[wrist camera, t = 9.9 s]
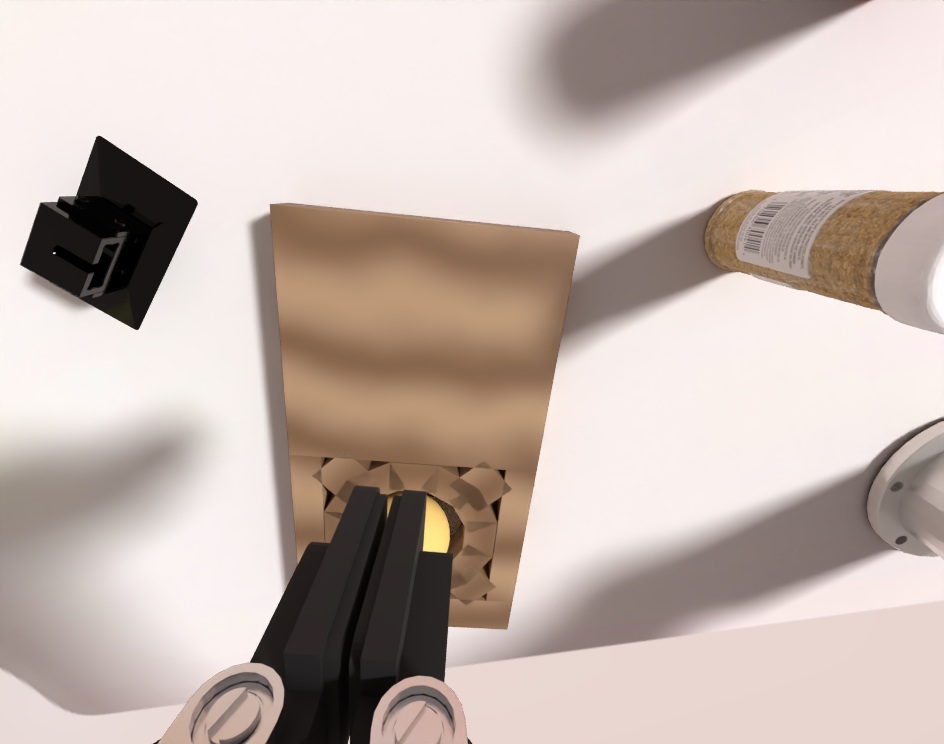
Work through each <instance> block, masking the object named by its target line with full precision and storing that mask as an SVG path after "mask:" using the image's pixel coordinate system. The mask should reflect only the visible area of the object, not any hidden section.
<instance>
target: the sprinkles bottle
mask: <svg viewBox="0 0 944 744" xmlns="http://www.w3.org/2000/svg"><path fill="white" fill-rule="evenodd" d="M705 248H706V251H707V254H708V256H709V258H710V260H711V261H712V262H713V263H714V264H715V265H717V266H718V267H720V268H721V269H725V270H728V271H731V272H741V273H745V274H749V275H752V276H753V277H755V278H758V279H761V280H764V281H768V282H771V283H775V284H778V285H782V286H786V287H789V288H793V289H797V290H805V291H809V292H813V293H816V294H819V295H823V296H826V297H830V298H834V299H838V300H841V301H844V302H849V303H853V304H856V305H860V306H863V307H867V308H871V309H876V310H880V311H882V312H883V313H884V314H887V315H889V316H890V317H891V318H893V319H894V320H896V321H898V322H900V323H903V324H906V325H910V326H913V327H917V328H920V329H924V330H928V331H932V332H936V333H940V334H944V192H892V191H884V190H835V191H785V192H777V193H775V192H765V191H761V190H749V191H744V192H740V193H738V194H735V195H733V196H732V197H730V198H729V199H727V200H726V201H724V202H723V203H722V204H721V205H720V206H719V207H718V208H717V209H716V210H715V212H714V213H713V215H712V217H711V219H710V220H709V222H708V225H707V228H706V232H705Z"/></svg>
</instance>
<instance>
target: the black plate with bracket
mask: <svg viewBox="0 0 944 744" xmlns="http://www.w3.org/2000/svg"><path fill="white" fill-rule="evenodd" d="M197 205H198V202H197V200H196V199H194V198H193V197H191V196H190V195H188V194H187V193H185V192H184V191H182V190H181V189H179V188H178V187H176V186H175V185H173V184H172V183H170V182H169V181H167V180H166V179H164V178H163V177H161V176H160V175H158V174H157V173H155V172H154V171H152V170H151V169H149V168H148V167H146V166H145V165H143V164H142V163H140V162H139V161H137V160H136V159H134V158H133V157H131V156H130V155H128V154H127V153H125V152H124V151H122V150H121V149H119V148H118V147H116V146H115V145H113V144H112V143H110V142H109V141H107V140H106V139H104V138H103V137H101V136H97V137H96V140H95V143H94V146H93V148H92V151H91V154H90V157H89V160H88V163H87V166H86V169H85V172H84V175H83V177H82V180H81V183H80V186H79V189H78V192H77V195H76V196H66V197H59V199H58V202H42V203H40V205H39V208H38V211H37V214H36V217H35V220H34V223H33V226H32V229H31V232H30V235H29V238H28V241H27V244H26V247H25V250H24V253H23V257H22V260H21V263H20V265H21V266H23V267H25V268H26V269H28V270H30V271H32V272H33V273H35V274H37V275H39V276H41V277H42V278H44V279H46V280H48V281H49V282H51V283H52V284H54V285H56V286H58V287H59V288H61V289H63V290H65V291H67V292H68V293H70V294H72V295H74V296H76V297H77V298H79V299H81V300H83V301H85V302H86V303H88V304H90V305H92V306H94V307H95V308H97V309H99V310H101V311H103V312H104V313H106V314H108V315H110V316H112V317H113V318H115V319H117V320H119V321H121V322H122V323H124V324H126V325H128V326H130V327H131V328H133V329H135V330H138V329H139V328H140V326H141V324H142V321H143V319H144V317H145V315H146V313H147V311H148V309H149V307H150V304H151V302H152V300H153V298H154V296H155V294H156V292H157V290H158V288H159V285H160V283H161V281H162V279H163V277H164V275H165V273H166V271H167V268H168V266H169V264H170V262H171V260H172V258H173V256H174V254H175V251H176V249H177V247H178V245H179V243H180V241H181V239H182V237H183V235H184V232H185V230H186V228H187V226H188V224H189V222H190V220H191V218H192V215H193V213H194V211H195V209H196V207H197Z"/></svg>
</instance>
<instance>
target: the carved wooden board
mask: <svg viewBox="0 0 944 744" xmlns="http://www.w3.org/2000/svg"><path fill="white" fill-rule="evenodd" d="M270 212H271V225H272V238H273V251H274V264H275V277H276V290H277V303H278V316H279V329H280V342H281V355H282V368H283V381H284V394H285V407H286V420H287V433H288V446H289V459H290V472H291V485H292V498H293V511H294V524H295V537H296V550H297V563H299V561H300V559H301V557H302V555H303V553H304V551H305V549H306V547H307V546H308V544H309V543H310V542H323V543H330V542H331V540H332V537H333V535H334V533H335V530H336V528H337V526H338V523H339V521H340V519H341V516H342V514H343V512H344V509H345V507H346V505H347V502H348V500H349V498H350V495H351V493H352V490H353V488H354V486H356V485H359V486H371V487H379V488H380V494H387V495H388V494H391V493H393V492H396V491H403V490H404V489H405V490H416V491H427V493H429V494H431V495H433V496H435V497H437V498H438V499H440V500H442V501H444V502H446V503H448V504H449V505H451V506H453V508H454V509H455V511H456V513H457V514H458V516H459V518H460V519H461V521H462V523H463V525H462V526H461V527H460V528H459V529H458V530H457V531H456V533H455V534H454V535H453V536H452V537H451V538H450V541H449V546H448V550H447V553H453V563H452V578H451V592H450V606H449V621H448V627H468V628H488V629H507V628H508V623H509V617H510V612H511V606H512V601H513V595H514V590H515V585H516V579H517V574H518V568H519V563H520V557H521V552H522V547H523V541H524V536H525V530H526V525H527V520H528V514H529V509H530V503H531V498H532V492H533V487H534V482H535V476H536V471H537V465H538V460H539V454H540V449H541V444H542V438H543V433H544V427H545V422H546V417H547V411H548V406H549V400H550V395H551V389H552V384H553V379H554V373H555V368H556V362H557V357H558V351H559V346H560V341H561V335H562V330H563V324H564V319H565V314H566V308H567V303H568V297H569V292H570V286H571V281H572V276H573V270H574V265H575V259H576V254H577V248H578V243H579V238H580V235H577V234H575V233H572V232H569V231H560V230H550V229H540V228H530V227H520V226H510V225H501V224H491V223H481V222H471V221H461V220H451V219H441V218H431V217H421V216H412V215H402V214H392V213H382V212H372V211H362V210H352V209H342V208H333V207H323V206H313V205H303V204H293V203H281V204H270Z"/></svg>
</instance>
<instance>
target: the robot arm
mask: <svg viewBox="0 0 944 744" xmlns="http://www.w3.org/2000/svg"><path fill="white" fill-rule="evenodd" d="M426 502H427V491H416V490H405V489H404V490H403V494H402V496H400V495H394V496H393V500H392V503H391V507H390V510H389V514H388V517H387V507H388V496H387V494H380V488H379V487H371V486H359V485H356V486H354V488H353V490H352V493H351V495H350V498H349V500H348V502H347V505H346V507H345V509H344V512H343V514H342V516H341V519H340V521H339V523H338V526H337V528H336V530H335V533H334V535H333V537H332V540H331V542H330V543H323V542H310V543H309V544H308V546H307V547H306V549H305V551H304V553H303V555H302V557H301V559H300V561H299V563H298V565H297V567H296V569H295V571H294V573H293V576H292V578H291V580H290V582H289V584H288V586H287V588H286V590H285V592H284V594H283V596H282V598H281V600H280V602H279V604H278V606H277V608H276V610H275V612H274V614H273V616H272V618H271V620H270V623H269V625H268V627H267V629H266V631H265V633H264V635H263V637H262V639H261V641H260V643H259V645H258V647H257V649H256V651H255V653H254V655H253V657H252V659H251V661H250V663H244V664H240V665H235V666H232V667H230V668H228V669H226V670H224V671H221V672H219V673H217V674H216V675H215V676H213V677H212V678H211V679H209V680H208V681H207V682H205V683H204V684H203V685H202V686H201V687H200V688H199V689H198V690H197V692H196V693H195V694H194V695H193V696H192V697H191V698H190V700H189V701H188V702H187V704H186V705H185V707H184V708H183V709H182V711H181V712H180V714H179V715H178V716H177V718H176V719H175V720H174V722H173V723H172V725H171V726H170V727H169V729H168V730H167V731H166V733H165V734H164V736H163V737H162V738H161V739H160V740H158V741H157V742H155V743H153V744H348V740H349V736H350V744H472V743H471V741H470V740H469V739H468V738H467V731H466V722H465V716H464V712H463V709H462V705H461V703H460V701H459V699H458V698H457V696H456V694H455V692H454V691H453V690H452V689H451V688H449V687H448V686H447V685H446V684H445V683H444V677H445V663H446V649H447V635H448V621H449V606H450V592H451V578H452V563H453V553H441V552H429V551H423V544H424V530H425V516H426ZM867 512H868V519H869V521H870V524H871V526H872V528H873V529H874V531H875V532H876V533H877V534H878V535H879V536H880V537H881V538H882V539H883V540H885V541H886V542H887V543H888V544H889V545H891V546H892V547H893V548H896V549H898V550H900V551H902V552H904V553H908V554H912V555H916V556H929V557H935V556H940V557H941V558H942V559H944V421H942V422H939V423H937V424H935V425H933V426H932V427H930V428H928V429H926V430H924V431H922V432H921V433H919V434H918V435H916V436H915V437H914V438H912V439H911V440H909V441H908V442H906V443H905V444H904V445H903V446H902V447H901V448H900V449H899V450H897V451H896V452H895V453H894V454H893V455H892V456H891V457H890V459H889V460H888V461H887V462H886V463H885V465H884V466H883V467H882V468H881V470H880V472H879V473H878V475H877V476H876V478H875V480H874V482H873V484H872V487H871V490H870V492H869V496H868V503H867Z"/></svg>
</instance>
